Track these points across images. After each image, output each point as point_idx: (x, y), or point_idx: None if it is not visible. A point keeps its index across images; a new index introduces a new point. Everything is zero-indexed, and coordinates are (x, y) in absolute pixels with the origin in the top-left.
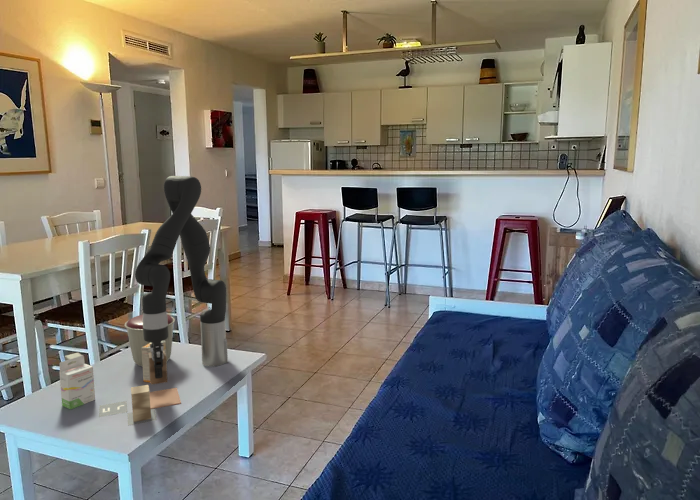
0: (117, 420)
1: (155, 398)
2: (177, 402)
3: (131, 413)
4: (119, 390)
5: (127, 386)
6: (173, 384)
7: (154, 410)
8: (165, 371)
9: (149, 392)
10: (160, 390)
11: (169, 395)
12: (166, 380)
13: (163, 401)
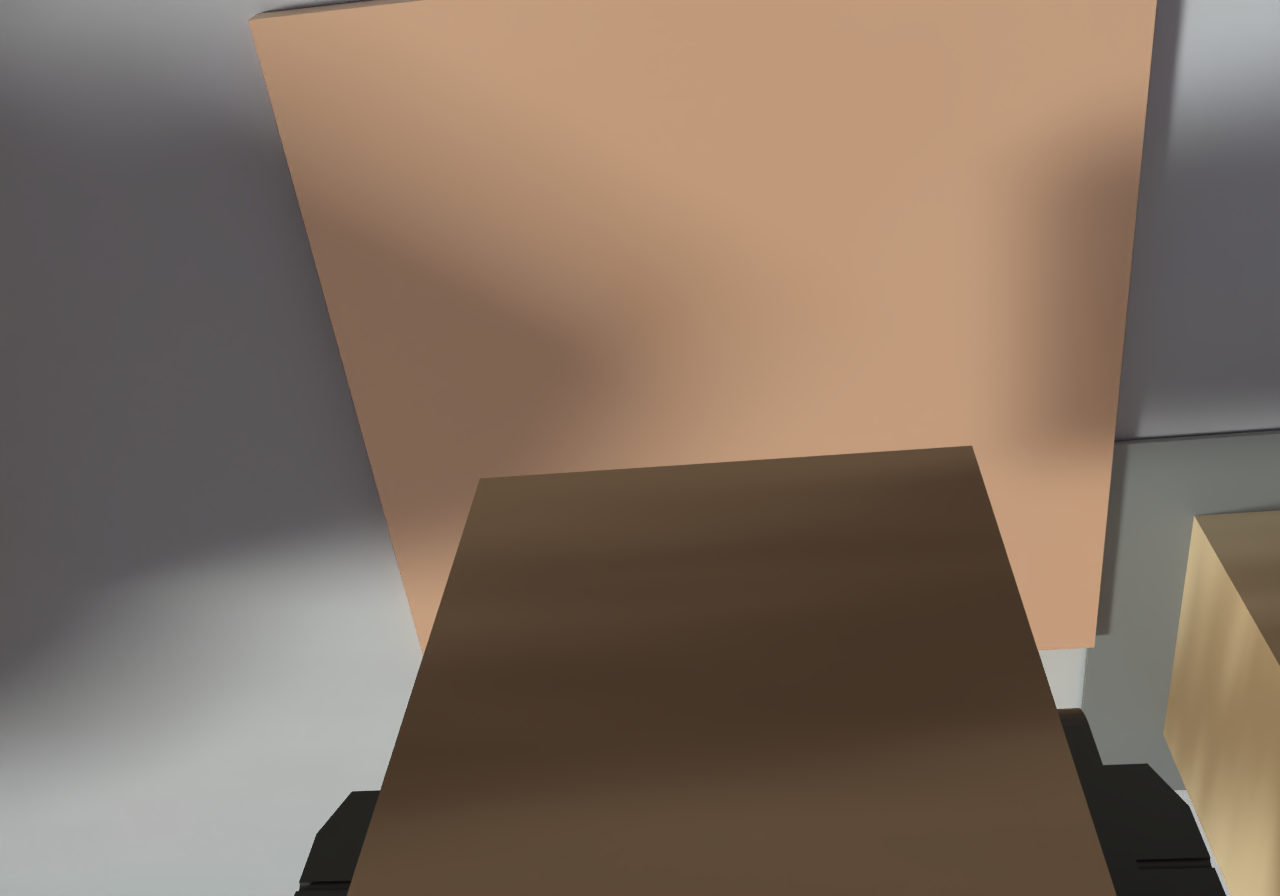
0: (1223, 879)
1: (710, 447)
2: (1109, 5)
3: (1113, 751)
4: (205, 887)
5: (69, 810)
6: (13, 93)
7: (1196, 448)
8: (1052, 744)
9: (405, 544)
10: (354, 366)
11: (655, 188)
12: (980, 495)
13: (916, 307)
